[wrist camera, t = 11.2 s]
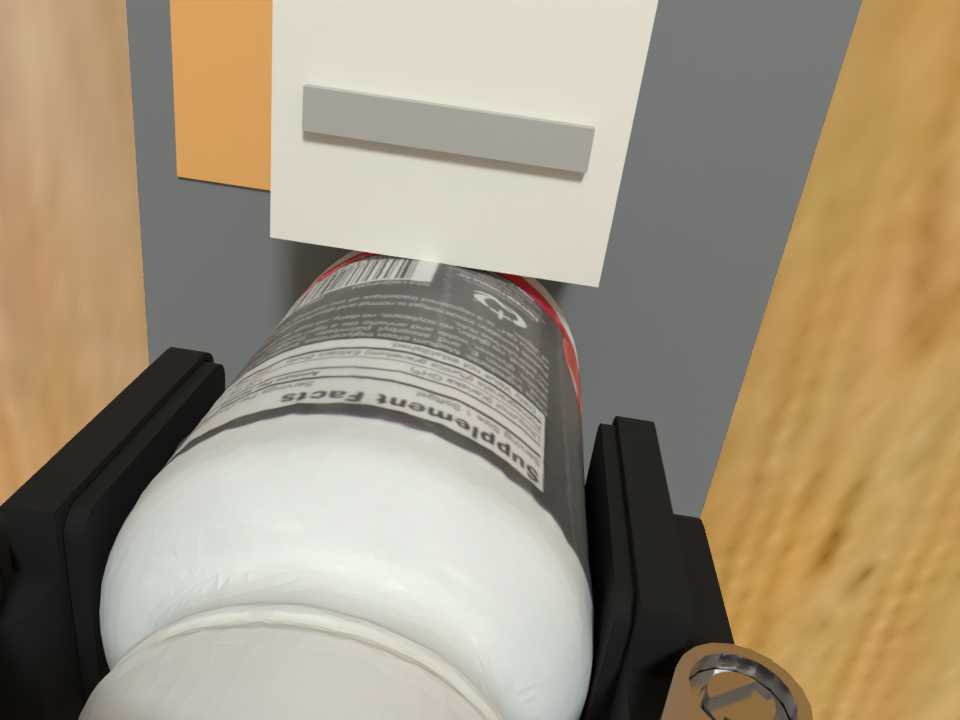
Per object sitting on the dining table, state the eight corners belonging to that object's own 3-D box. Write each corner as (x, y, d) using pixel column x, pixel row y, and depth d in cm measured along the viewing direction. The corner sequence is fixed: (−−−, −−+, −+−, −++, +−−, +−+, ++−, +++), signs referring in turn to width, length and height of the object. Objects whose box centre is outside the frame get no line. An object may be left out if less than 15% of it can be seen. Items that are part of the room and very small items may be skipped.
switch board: (596, 775, 24) (599, 842, 22) (203, 710, 24) (174, 771, 23) (969, -497, 12) (1048, -585, 10) (152, -604, 12) (77, -710, 10)
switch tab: (592, 235, 14) (598, 292, 12) (316, 193, 14) (266, 241, 12) (640, -10, 13) (660, -3, 10) (325, -55, 13) (268, -60, 10)
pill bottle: (533, 517, 16) (500, 1167, 7) (273, 447, 16) (-76, 1025, 7) (623, 273, 14) (732, 804, 5) (318, 187, 14) (-122, 580, 5)
